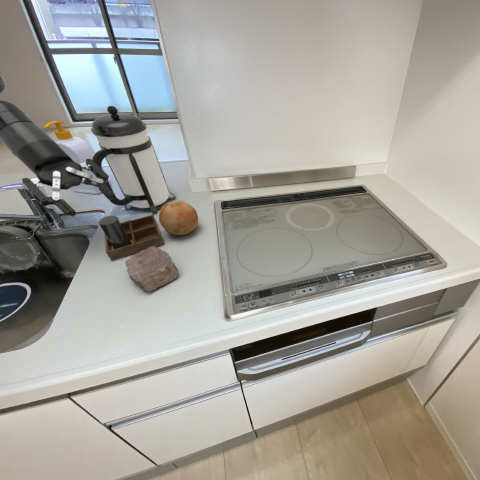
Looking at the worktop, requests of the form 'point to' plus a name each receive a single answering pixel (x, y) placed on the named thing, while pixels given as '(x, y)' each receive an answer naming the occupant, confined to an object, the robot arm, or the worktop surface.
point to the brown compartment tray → (137, 237)
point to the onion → (178, 217)
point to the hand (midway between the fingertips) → (94, 206)
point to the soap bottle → (75, 153)
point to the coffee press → (130, 160)
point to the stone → (151, 268)
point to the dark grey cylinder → (114, 231)
